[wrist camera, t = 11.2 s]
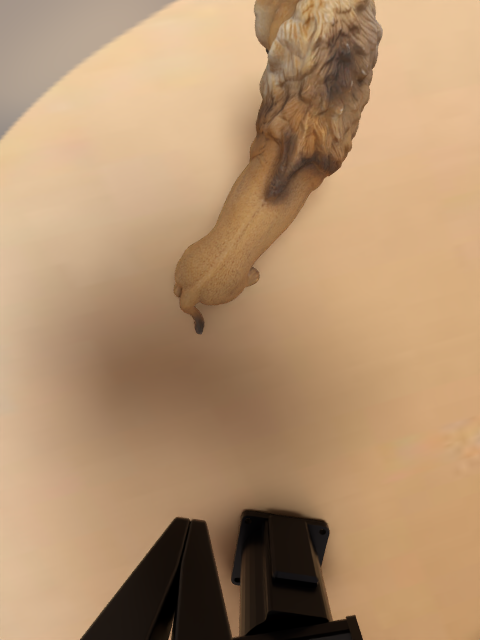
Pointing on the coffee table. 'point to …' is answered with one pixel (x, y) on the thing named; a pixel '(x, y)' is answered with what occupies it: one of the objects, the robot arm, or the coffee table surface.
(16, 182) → the coffee table surface
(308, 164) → the lion figurine
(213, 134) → the coffee table surface
